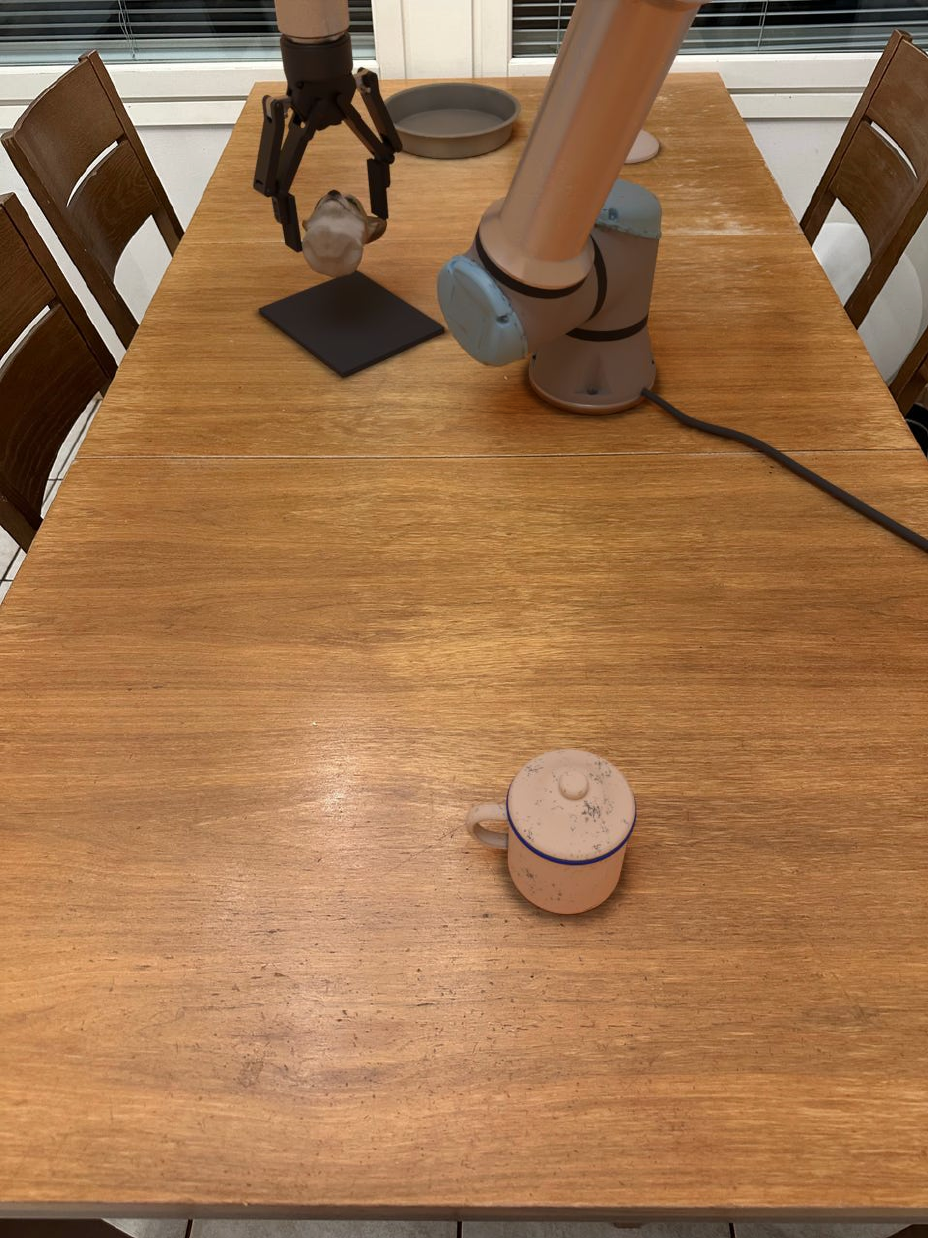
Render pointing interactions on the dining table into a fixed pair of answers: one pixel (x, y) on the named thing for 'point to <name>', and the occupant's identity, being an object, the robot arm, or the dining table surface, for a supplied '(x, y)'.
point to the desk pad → (351, 322)
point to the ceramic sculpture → (339, 234)
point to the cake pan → (452, 119)
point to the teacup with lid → (562, 829)
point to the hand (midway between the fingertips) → (338, 231)
